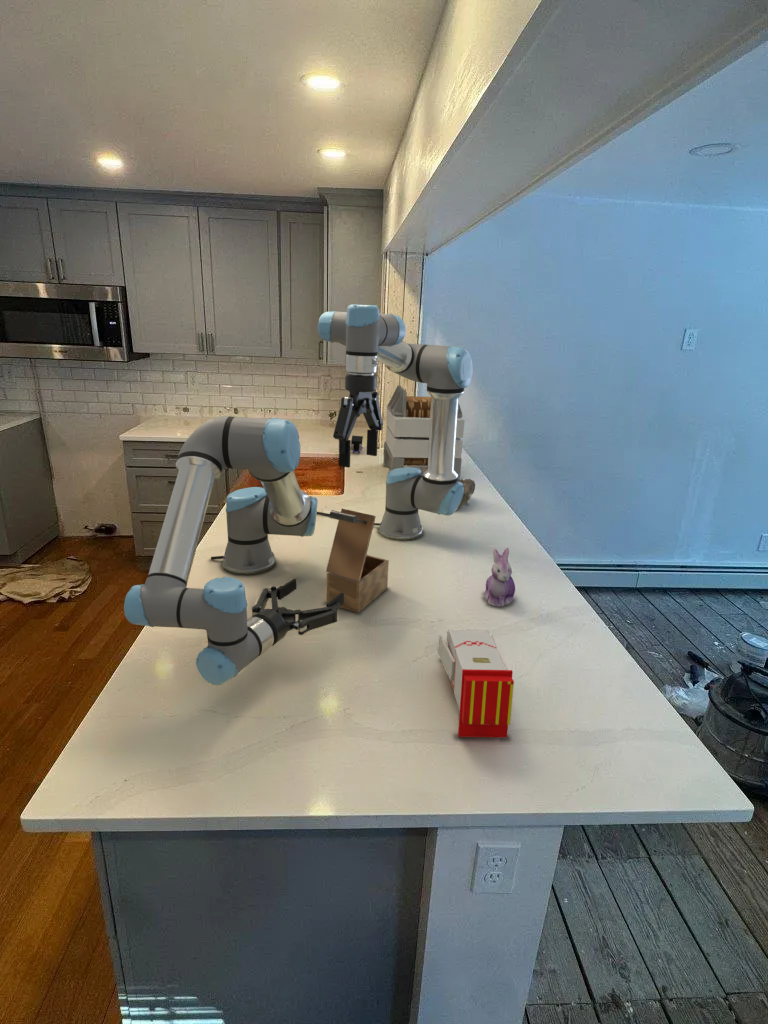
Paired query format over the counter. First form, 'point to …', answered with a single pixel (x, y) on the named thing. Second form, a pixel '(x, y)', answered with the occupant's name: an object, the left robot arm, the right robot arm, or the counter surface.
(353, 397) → the right robot arm
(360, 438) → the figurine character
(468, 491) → the fossil
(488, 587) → the figurine
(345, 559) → the lid
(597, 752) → the counter surface
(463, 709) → the toy
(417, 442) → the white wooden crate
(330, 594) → the chest
